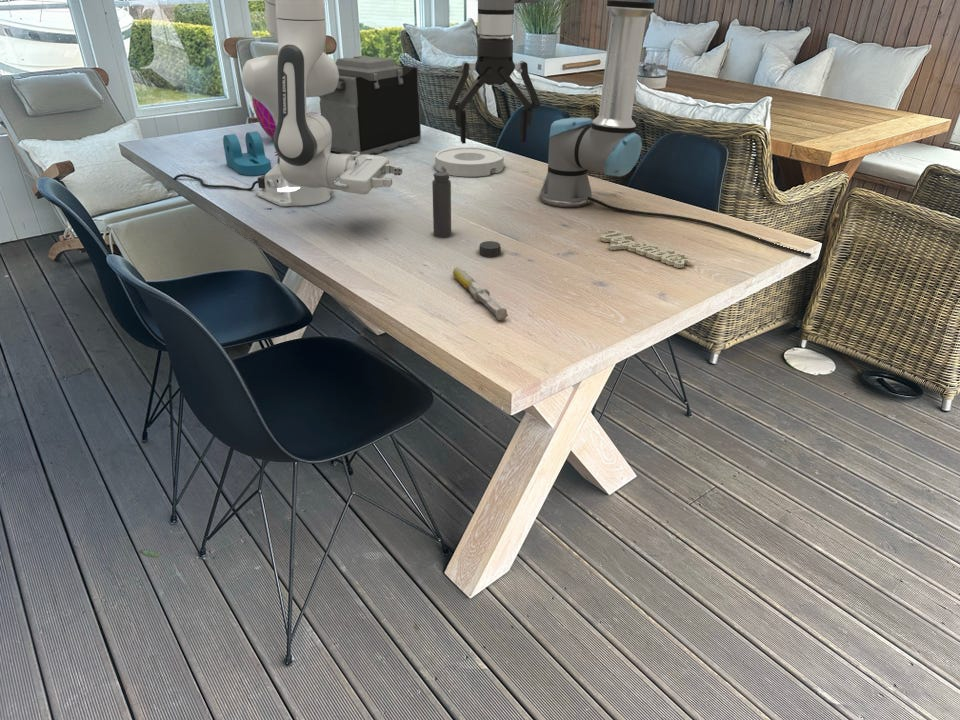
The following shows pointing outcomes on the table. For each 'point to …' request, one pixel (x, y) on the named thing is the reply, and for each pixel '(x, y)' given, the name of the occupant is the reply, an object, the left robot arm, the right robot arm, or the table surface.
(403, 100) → the cooler box
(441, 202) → the dark grey cylinder
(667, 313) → the table surface
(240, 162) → the camera mount
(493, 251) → the lid
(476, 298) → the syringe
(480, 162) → the ashtray
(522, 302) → the table surface
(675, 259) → the decorative sign
